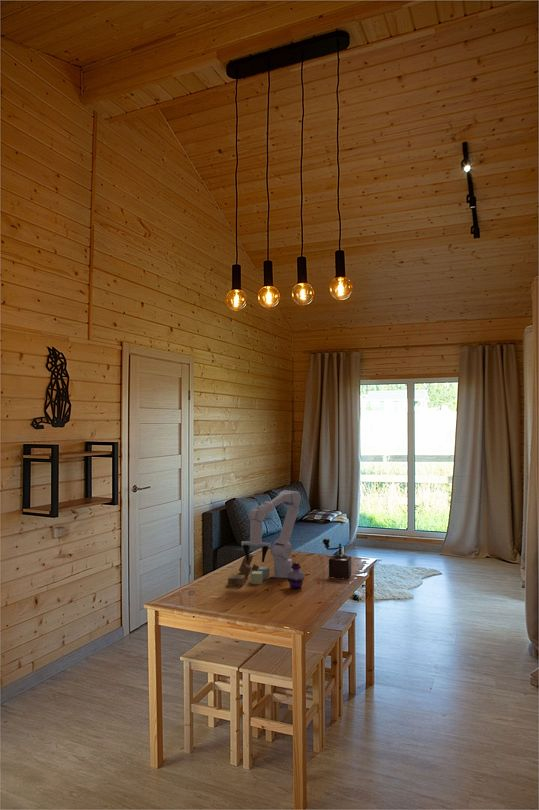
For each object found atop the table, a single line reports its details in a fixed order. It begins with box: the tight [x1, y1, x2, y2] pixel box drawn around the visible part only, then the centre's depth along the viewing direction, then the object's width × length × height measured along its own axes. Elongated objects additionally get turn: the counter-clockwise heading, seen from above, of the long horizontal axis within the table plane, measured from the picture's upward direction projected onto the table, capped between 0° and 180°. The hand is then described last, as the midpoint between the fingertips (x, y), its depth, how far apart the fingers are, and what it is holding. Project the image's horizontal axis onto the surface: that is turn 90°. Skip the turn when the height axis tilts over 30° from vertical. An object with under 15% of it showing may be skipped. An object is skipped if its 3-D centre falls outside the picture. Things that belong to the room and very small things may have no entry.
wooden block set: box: [238, 552, 260, 580], centre depth 281 cm, size 18×9×10 cm, turn 167°
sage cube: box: [250, 570, 264, 585], centre depth 266 cm, size 5×5×5 cm
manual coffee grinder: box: [322, 538, 352, 580], centre depth 280 cm, size 16×11×18 cm
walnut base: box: [227, 574, 247, 588], centre depth 262 cm, size 7×7×4 cm
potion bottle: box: [287, 561, 306, 590], centre depth 257 cm, size 9×9×12 cm
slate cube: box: [258, 566, 270, 580], centre depth 274 cm, size 5×5×5 cm
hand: (255, 561), depth 266 cm, fingers open, 7 cm apart
